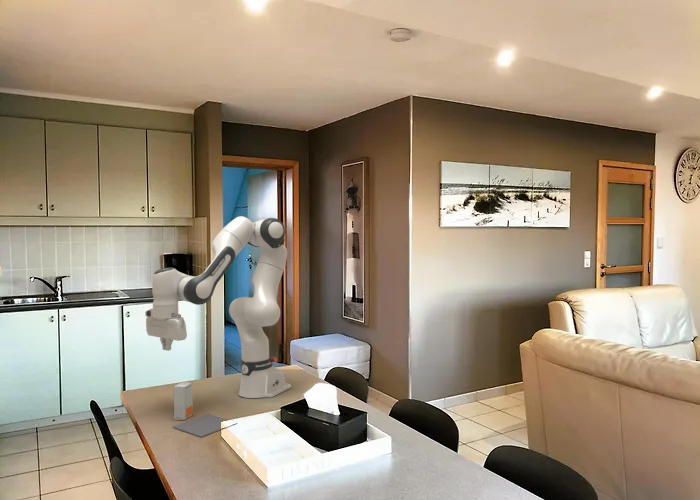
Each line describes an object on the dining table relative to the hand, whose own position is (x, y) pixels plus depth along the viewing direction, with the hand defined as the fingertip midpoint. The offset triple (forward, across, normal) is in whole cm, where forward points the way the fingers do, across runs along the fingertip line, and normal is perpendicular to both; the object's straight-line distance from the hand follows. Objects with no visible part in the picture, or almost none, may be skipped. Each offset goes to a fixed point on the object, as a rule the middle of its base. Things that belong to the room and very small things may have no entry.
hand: (166, 350), depth 195 cm
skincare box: (+23, -9, 0) cm, 25 cm away
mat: (+23, -22, +1) cm, 32 cm away
